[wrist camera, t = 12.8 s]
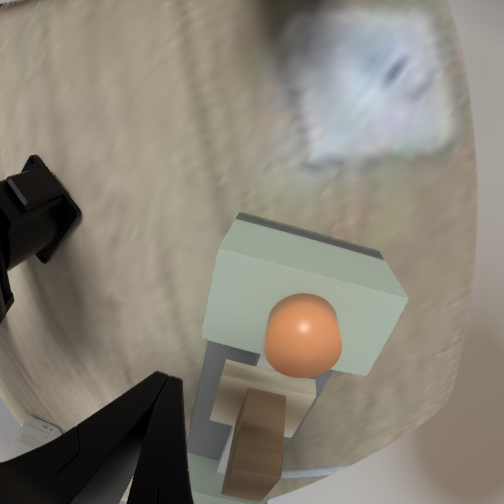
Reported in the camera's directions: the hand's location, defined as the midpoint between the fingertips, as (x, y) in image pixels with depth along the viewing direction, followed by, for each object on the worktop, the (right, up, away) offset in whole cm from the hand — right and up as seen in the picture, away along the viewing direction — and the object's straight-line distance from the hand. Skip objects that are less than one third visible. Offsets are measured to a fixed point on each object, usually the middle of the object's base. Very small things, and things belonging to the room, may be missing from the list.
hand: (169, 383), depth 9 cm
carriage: (+3, -6, +12) cm, 13 cm away
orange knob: (+5, +1, +7) cm, 9 cm away
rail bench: (+3, -8, +16) cm, 18 cm away
